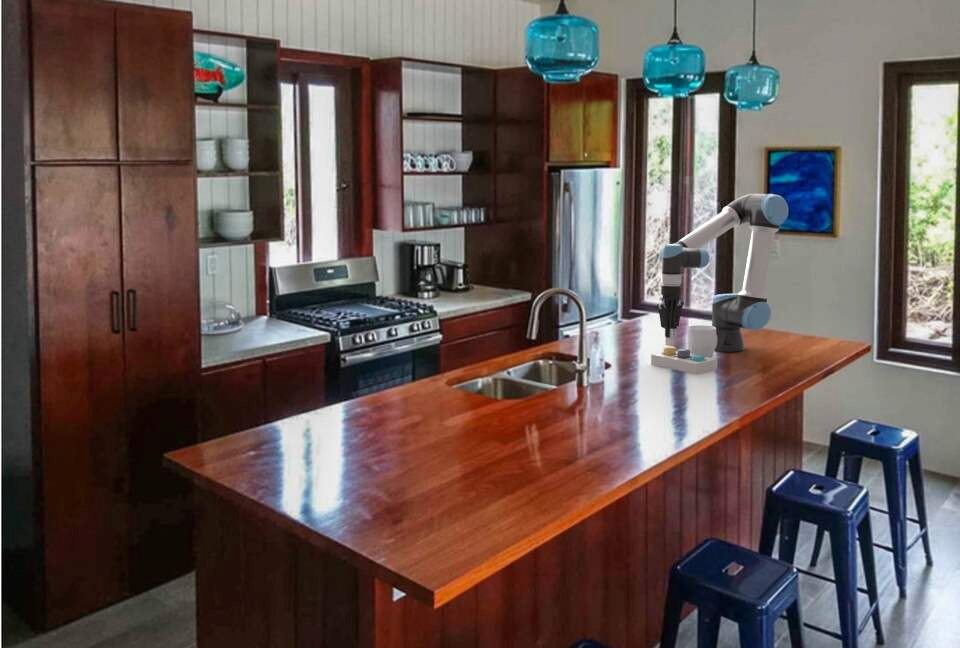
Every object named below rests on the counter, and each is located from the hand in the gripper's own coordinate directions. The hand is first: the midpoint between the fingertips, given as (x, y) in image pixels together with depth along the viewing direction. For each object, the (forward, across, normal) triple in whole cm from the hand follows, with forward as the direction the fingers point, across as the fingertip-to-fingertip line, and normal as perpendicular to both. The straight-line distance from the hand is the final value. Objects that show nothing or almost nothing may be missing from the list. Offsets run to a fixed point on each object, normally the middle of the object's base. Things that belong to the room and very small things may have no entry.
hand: (669, 345), depth 345 cm
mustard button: (+5, 0, 0) cm, 5 cm away
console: (+7, 0, +7) cm, 10 cm away
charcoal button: (+5, 0, +7) cm, 9 cm away
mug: (+8, -16, +3) cm, 18 cm away
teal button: (+6, 0, +14) cm, 15 cm away
